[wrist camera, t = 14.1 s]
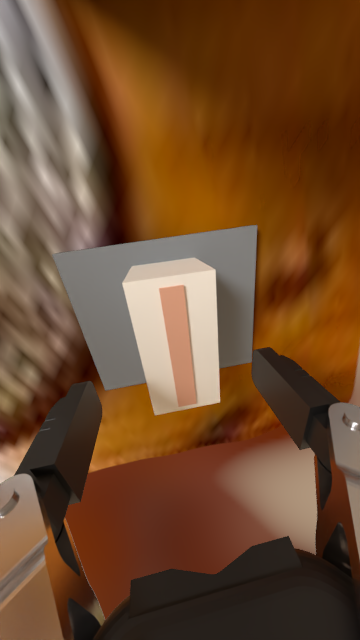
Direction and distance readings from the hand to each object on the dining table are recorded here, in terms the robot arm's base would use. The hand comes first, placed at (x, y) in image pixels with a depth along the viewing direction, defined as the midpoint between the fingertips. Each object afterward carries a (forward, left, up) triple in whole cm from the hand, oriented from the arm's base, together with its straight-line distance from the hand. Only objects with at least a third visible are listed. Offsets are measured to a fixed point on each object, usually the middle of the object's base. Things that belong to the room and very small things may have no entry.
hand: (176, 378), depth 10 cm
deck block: (0, 0, -7) cm, 7 cm away
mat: (0, 0, -8) cm, 8 cm away
